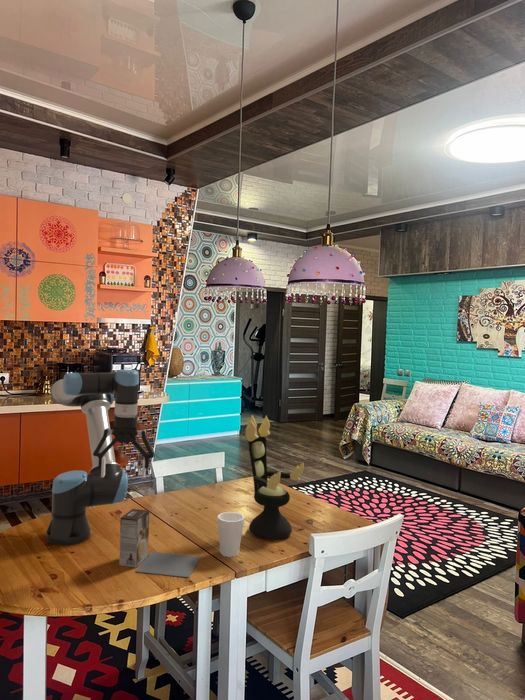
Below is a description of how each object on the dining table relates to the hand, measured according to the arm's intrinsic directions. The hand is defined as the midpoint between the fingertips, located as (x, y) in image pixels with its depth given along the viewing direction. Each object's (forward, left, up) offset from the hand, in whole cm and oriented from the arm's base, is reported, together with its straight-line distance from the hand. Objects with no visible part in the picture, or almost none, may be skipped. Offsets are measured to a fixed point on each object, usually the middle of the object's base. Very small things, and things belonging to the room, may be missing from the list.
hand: (123, 476), depth 177 cm
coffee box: (+6, -5, -27) cm, 28 cm away
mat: (+19, -5, -27) cm, 33 cm away
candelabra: (+46, +30, -27) cm, 62 cm away
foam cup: (+36, +8, -27) cm, 46 cm away
